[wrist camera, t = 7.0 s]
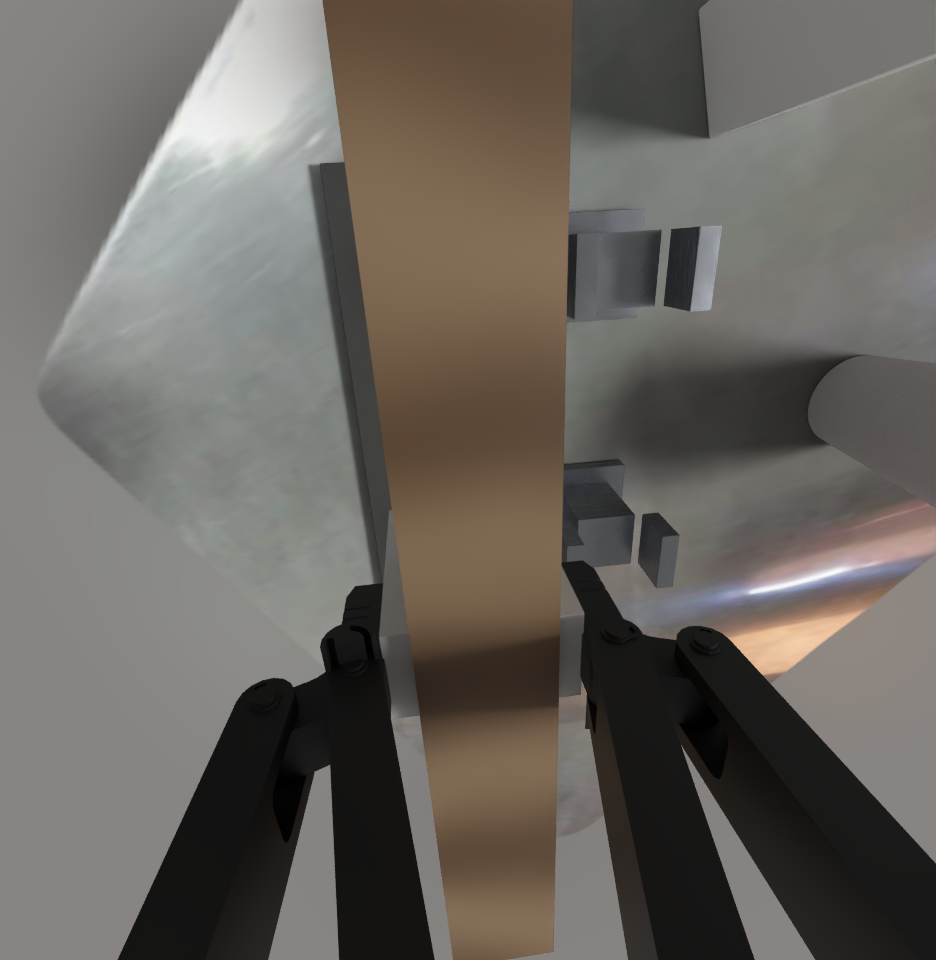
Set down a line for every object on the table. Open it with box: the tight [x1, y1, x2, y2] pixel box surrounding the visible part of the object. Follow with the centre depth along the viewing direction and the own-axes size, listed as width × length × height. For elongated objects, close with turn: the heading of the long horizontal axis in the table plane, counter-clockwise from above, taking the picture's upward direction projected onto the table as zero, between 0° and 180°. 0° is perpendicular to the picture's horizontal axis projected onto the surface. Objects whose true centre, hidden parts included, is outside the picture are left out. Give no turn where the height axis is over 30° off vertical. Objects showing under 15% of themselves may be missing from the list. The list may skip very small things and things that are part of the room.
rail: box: [323, 0, 573, 960], centre depth 14 cm, size 26×4×4 cm, turn 3°
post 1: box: [566, 209, 722, 322], centre depth 27 cm, size 6×7×9 cm
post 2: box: [562, 460, 680, 588], centre depth 34 cm, size 6×7×9 cm
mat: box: [320, 163, 392, 583], centre depth 34 cm, size 28×10×1 cm, turn 3°
